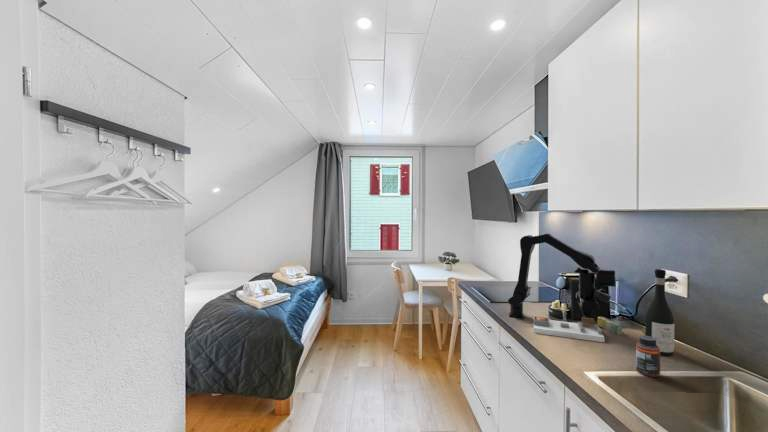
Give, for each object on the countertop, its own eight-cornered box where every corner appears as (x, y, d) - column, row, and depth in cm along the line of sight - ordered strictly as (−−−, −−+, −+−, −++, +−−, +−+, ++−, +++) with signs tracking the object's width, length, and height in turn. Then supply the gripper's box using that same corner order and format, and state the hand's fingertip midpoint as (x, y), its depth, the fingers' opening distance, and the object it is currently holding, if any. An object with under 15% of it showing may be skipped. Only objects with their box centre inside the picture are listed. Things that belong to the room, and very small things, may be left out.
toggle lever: (562, 320, 140) (561, 310, 142) (566, 321, 140) (566, 311, 141) (562, 320, 139) (562, 310, 140) (567, 321, 138) (566, 311, 139)
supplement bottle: (651, 369, 106) (651, 334, 106) (665, 378, 100) (665, 341, 100) (631, 368, 107) (631, 333, 106) (644, 377, 101) (644, 341, 100)
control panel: (533, 322, 150) (533, 313, 150) (597, 330, 140) (597, 320, 140) (533, 332, 137) (534, 323, 137) (604, 342, 127) (604, 332, 127)
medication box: (622, 335, 135) (623, 325, 135) (616, 335, 135) (616, 325, 135) (602, 325, 147) (603, 316, 147) (596, 324, 147) (597, 316, 147)
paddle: (581, 325, 139) (581, 317, 139) (594, 326, 138) (594, 318, 138) (582, 326, 138) (582, 317, 138) (594, 327, 137) (594, 319, 137)
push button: (536, 320, 145) (536, 316, 145) (546, 322, 144) (546, 317, 144) (536, 323, 142) (536, 319, 142) (546, 324, 140) (546, 320, 140)
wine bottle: (679, 357, 114) (680, 272, 114) (653, 355, 116) (654, 271, 115) (664, 347, 122) (665, 268, 122) (640, 346, 123) (641, 267, 123)
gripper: (614, 290, 130) (614, 329, 130) (604, 281, 147) (604, 315, 147) (581, 287, 134) (581, 325, 135) (575, 279, 151) (575, 312, 152)
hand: (586, 319), depth 142 cm, fingers closed
